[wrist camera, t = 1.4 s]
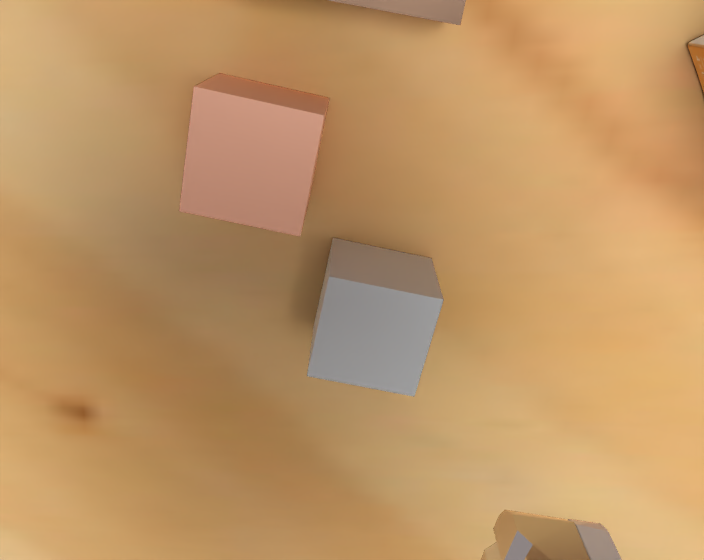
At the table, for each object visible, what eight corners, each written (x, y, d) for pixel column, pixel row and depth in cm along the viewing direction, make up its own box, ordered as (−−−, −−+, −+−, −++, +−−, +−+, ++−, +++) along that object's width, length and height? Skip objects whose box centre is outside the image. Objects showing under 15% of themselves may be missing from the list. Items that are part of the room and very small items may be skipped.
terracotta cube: (308, 201, 31) (300, 236, 27) (205, 179, 31) (179, 211, 26) (329, 97, 29) (324, 115, 25) (220, 72, 29) (193, 86, 24)
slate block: (406, 343, 34) (414, 396, 30) (313, 325, 34) (306, 375, 29) (431, 257, 32) (443, 299, 28) (333, 237, 32) (329, 276, 28)
